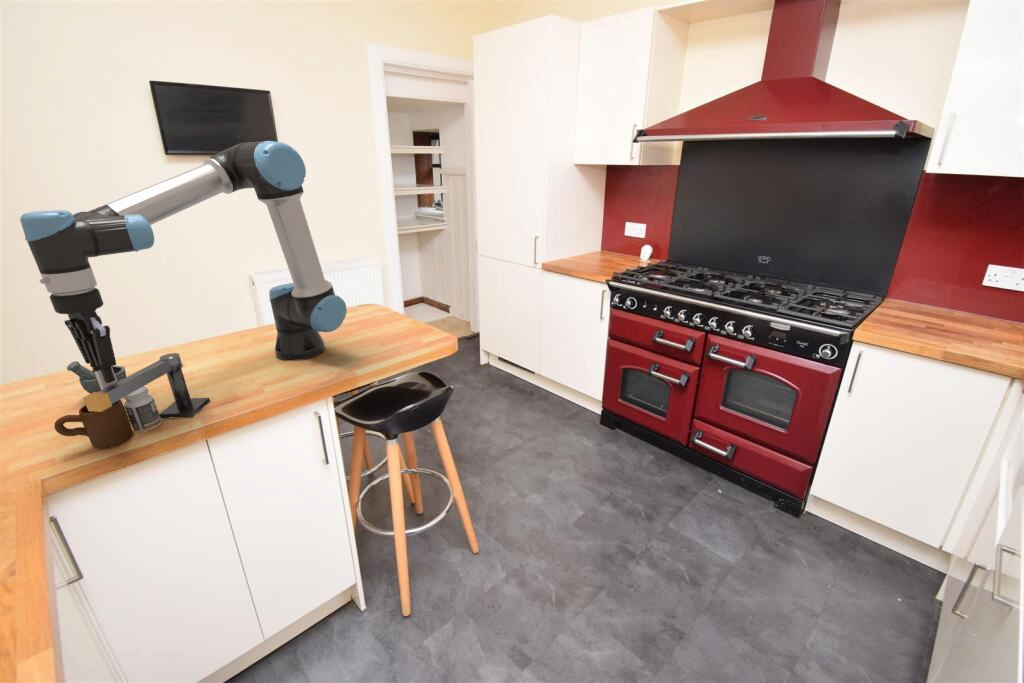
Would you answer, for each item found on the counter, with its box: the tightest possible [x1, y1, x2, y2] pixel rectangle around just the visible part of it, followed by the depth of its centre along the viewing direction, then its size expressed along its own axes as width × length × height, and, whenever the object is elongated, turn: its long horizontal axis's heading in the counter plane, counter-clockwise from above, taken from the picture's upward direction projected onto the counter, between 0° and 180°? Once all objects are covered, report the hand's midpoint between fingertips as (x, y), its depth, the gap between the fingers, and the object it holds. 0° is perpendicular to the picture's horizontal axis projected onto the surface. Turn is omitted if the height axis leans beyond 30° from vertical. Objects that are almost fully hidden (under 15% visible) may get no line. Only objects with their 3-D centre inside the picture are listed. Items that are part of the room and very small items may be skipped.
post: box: [159, 368, 211, 419], centre depth 118 cm, size 8×8×12 cm
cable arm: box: [82, 352, 183, 412], centre depth 106 cm, size 23×4×3 cm, turn 175°
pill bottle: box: [123, 385, 162, 433], centre depth 111 cm, size 6×6×10 cm
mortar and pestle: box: [66, 360, 127, 394], centre depth 125 cm, size 11×9×12 cm
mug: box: [53, 399, 134, 450], centre depth 104 cm, size 12×8×9 cm, turn 133°
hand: (112, 393), depth 102 cm, fingers closed
